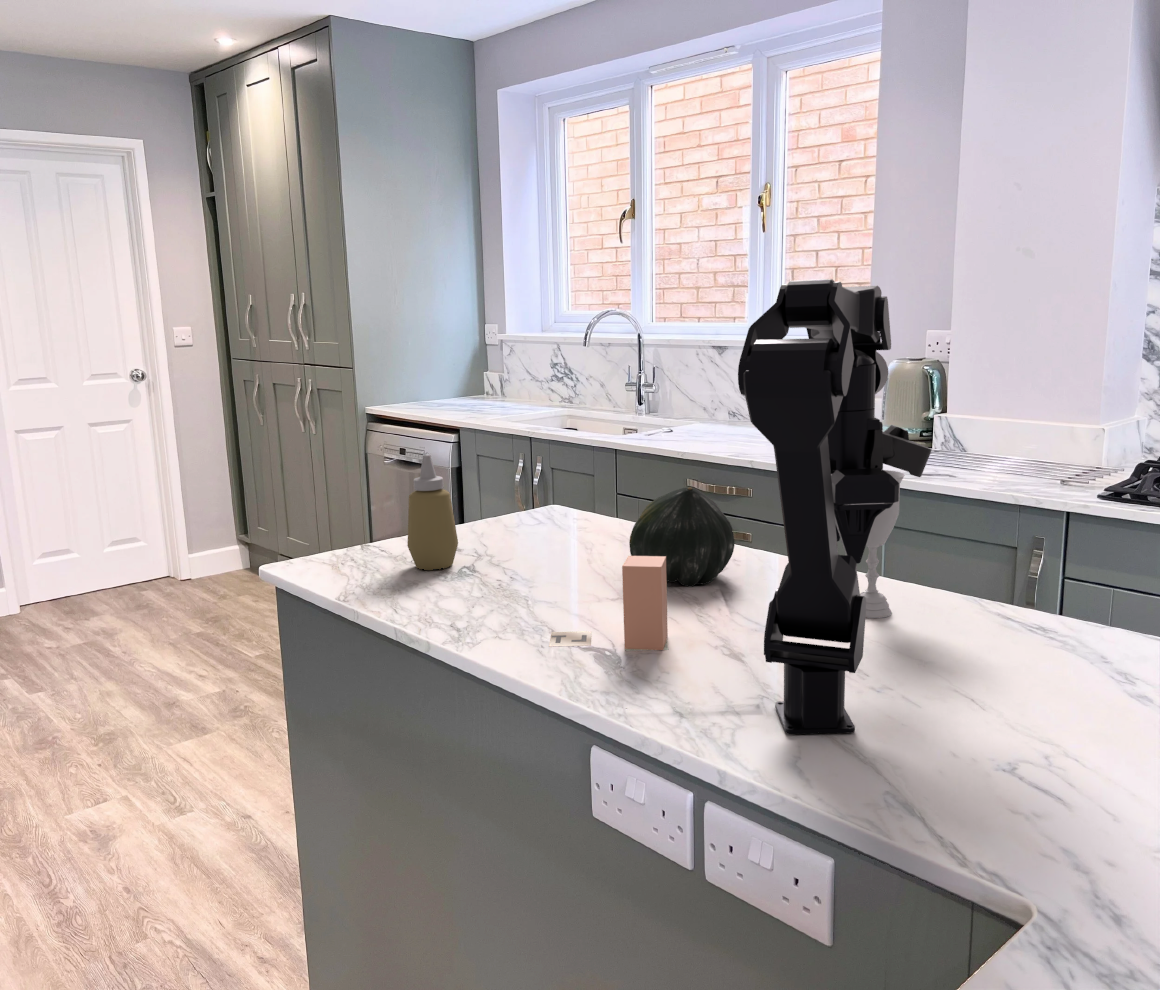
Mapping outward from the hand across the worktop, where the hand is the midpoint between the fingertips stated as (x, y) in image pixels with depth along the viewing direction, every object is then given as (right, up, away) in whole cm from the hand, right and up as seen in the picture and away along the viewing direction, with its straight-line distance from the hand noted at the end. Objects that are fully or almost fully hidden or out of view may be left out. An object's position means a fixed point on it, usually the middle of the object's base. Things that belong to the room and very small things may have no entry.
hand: (844, 551), depth 104 cm
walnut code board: (-25, -12, +10) cm, 30 cm away
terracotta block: (-21, -11, +10) cm, 26 cm away
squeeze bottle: (-52, -5, +50) cm, 72 cm away
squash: (-13, -7, +38) cm, 40 cm away
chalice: (+9, -9, +20) cm, 24 cm away
